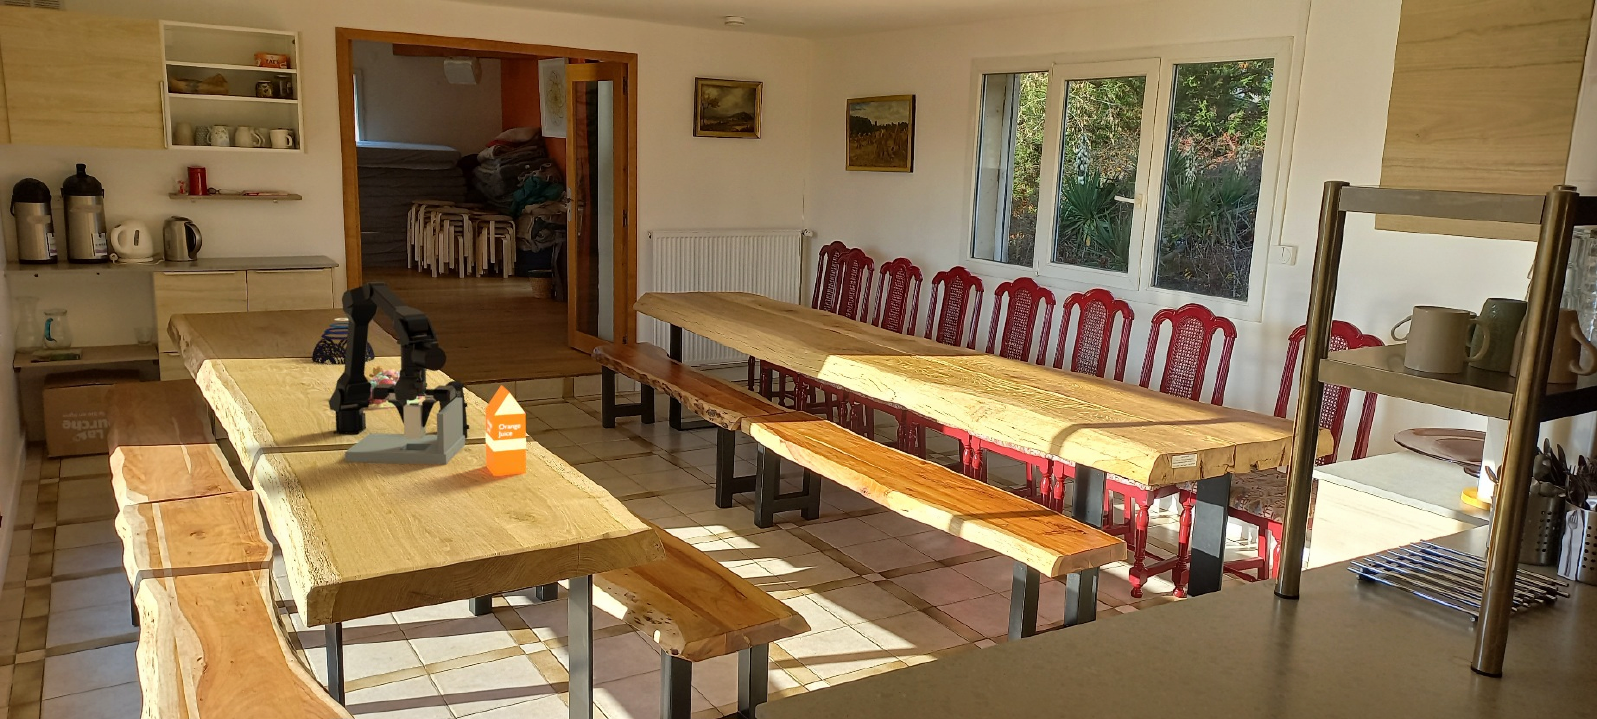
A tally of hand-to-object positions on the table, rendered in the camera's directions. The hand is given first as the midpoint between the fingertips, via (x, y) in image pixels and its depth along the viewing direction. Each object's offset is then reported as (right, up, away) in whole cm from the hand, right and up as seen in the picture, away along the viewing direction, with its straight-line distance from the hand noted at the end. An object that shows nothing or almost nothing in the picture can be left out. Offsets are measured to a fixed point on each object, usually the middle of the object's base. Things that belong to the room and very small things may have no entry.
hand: (414, 426), depth 273 cm
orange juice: (+24, -10, -6) cm, 27 cm away
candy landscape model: (-31, +4, +61) cm, 68 cm away
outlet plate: (-3, -7, +4) cm, 9 cm away
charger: (0, -2, 0) cm, 3 cm away
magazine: (+2, -4, +24) cm, 24 cm away
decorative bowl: (-66, +16, +118) cm, 136 cm away
